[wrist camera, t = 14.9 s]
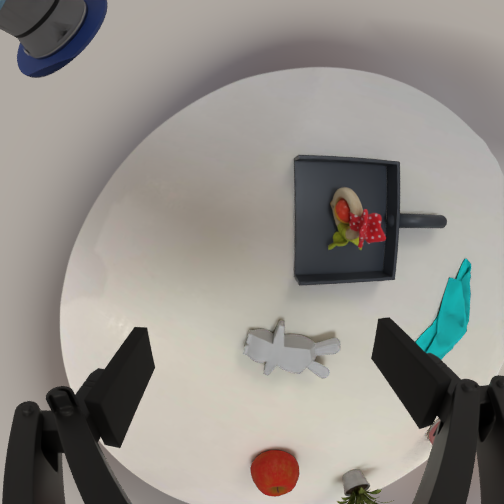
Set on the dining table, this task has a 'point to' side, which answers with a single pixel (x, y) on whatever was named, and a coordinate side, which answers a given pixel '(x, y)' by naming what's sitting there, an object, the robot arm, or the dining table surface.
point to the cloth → (450, 315)
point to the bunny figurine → (288, 351)
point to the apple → (275, 472)
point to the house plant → (357, 488)
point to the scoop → (323, 223)
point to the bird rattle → (354, 221)
